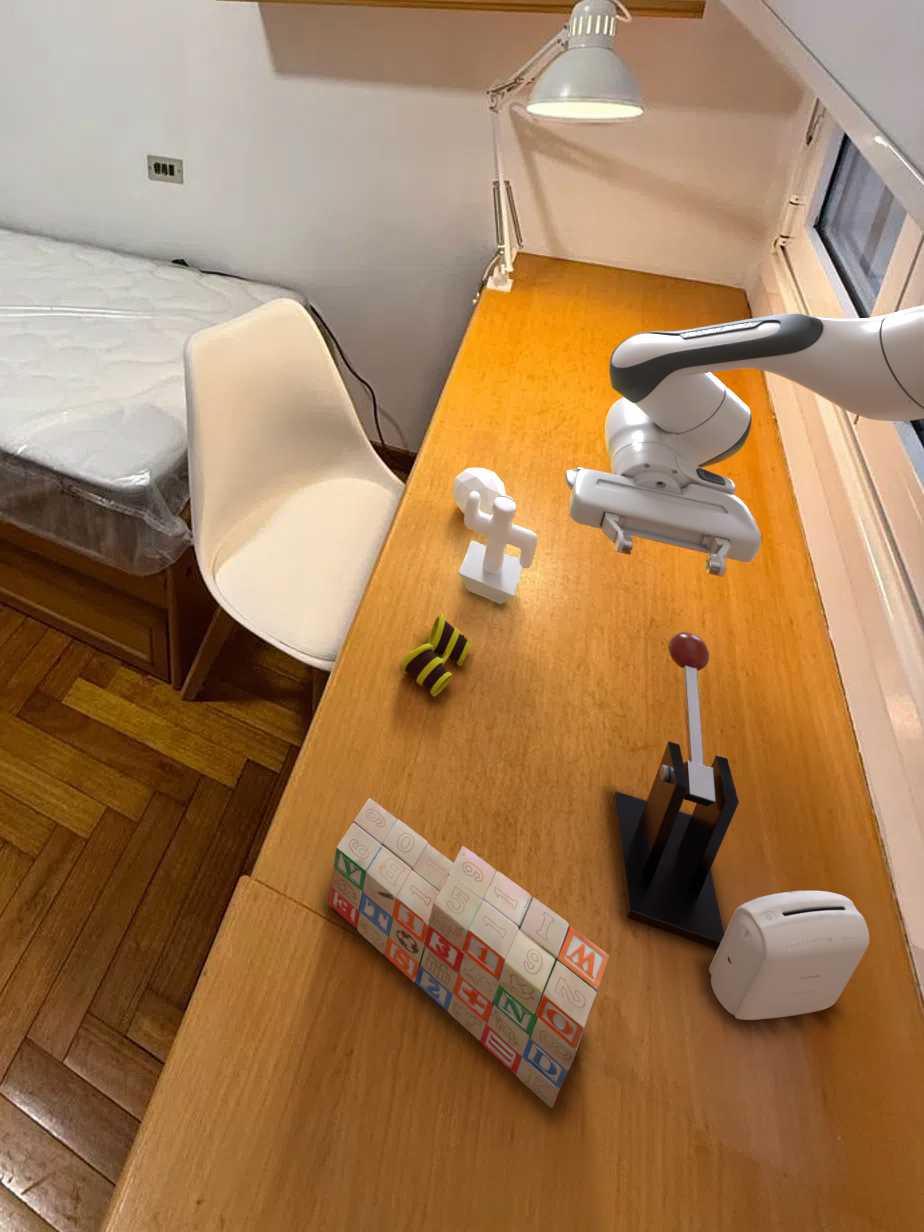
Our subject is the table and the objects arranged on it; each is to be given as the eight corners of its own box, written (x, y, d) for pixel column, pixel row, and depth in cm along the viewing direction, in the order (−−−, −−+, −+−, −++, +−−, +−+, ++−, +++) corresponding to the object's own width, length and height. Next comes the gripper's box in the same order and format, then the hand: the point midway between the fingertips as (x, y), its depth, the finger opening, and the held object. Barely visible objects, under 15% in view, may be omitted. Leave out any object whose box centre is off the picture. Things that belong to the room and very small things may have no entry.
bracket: (612, 797, 90) (644, 701, 84) (696, 824, 87) (735, 727, 81) (627, 918, 79) (665, 818, 74) (723, 952, 77) (770, 851, 71)
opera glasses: (431, 708, 100) (445, 684, 97) (394, 676, 103) (406, 652, 100) (467, 658, 107) (480, 634, 104) (431, 628, 109) (443, 605, 107)
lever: (662, 634, 89) (673, 622, 86) (701, 644, 88) (712, 632, 85) (671, 797, 79) (682, 789, 77) (714, 810, 78) (727, 803, 76)
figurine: (517, 619, 111) (538, 532, 105) (446, 589, 116) (462, 504, 110) (528, 584, 117) (548, 499, 111) (460, 556, 121) (476, 473, 116)
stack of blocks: (326, 906, 80) (337, 824, 75) (360, 854, 84) (373, 773, 79) (553, 1111, 67) (585, 1028, 62) (580, 1037, 71) (611, 954, 66)
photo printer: (731, 1028, 72) (774, 945, 67) (697, 968, 76) (735, 885, 71) (841, 1014, 73) (891, 931, 68) (802, 956, 77) (847, 873, 72)
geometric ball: (458, 525, 131) (433, 481, 131) (496, 496, 133) (471, 453, 133) (487, 536, 124) (460, 490, 124) (526, 505, 126) (500, 460, 126)
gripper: (568, 446, 110) (577, 515, 98) (748, 483, 103) (780, 562, 91) (559, 484, 112) (566, 557, 100) (734, 523, 106) (763, 605, 94)
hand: (670, 560), depth 96 cm, fingers open, 8 cm apart
